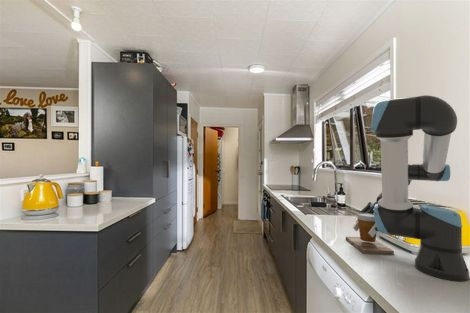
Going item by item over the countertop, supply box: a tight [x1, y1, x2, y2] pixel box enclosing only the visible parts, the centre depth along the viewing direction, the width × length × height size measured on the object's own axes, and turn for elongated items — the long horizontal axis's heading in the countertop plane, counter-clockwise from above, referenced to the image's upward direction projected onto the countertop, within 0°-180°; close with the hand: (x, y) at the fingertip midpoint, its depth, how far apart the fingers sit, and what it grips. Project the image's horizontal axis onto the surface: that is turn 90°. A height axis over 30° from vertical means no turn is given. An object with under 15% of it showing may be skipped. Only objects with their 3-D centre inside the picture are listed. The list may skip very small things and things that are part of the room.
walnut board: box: [345, 236, 395, 255], centre depth 113 cm, size 19×13×2 cm
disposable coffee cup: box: [356, 212, 378, 242], centre depth 114 cm, size 10×10×12 cm
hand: (362, 232), depth 113 cm, fingers closed on disposable coffee cup, 9 cm apart
